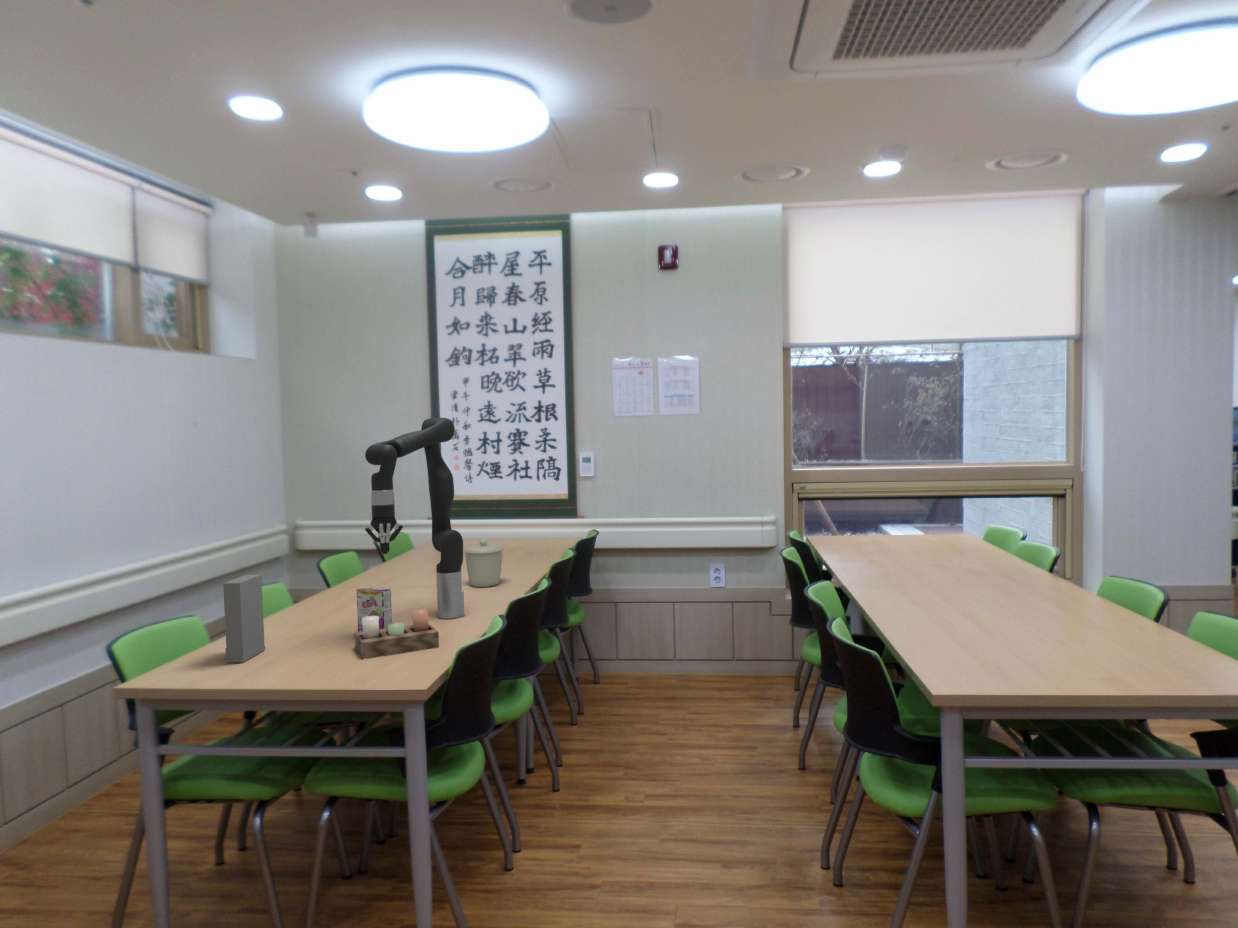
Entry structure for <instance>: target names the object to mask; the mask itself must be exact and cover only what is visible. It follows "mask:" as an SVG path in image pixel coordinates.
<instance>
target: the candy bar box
mask: <svg viewBox="0 0 1238 928" xmlns="http://www.w3.org/2000/svg"><path fill="white" fill-rule="evenodd" d="M356 607H357V609H356V610H357V632H363V626H362V618H363V617H366V616H378V617H379V629H386V628H388V625H389V624H392V623H393V616H392V615H393V612H392V611H393V610H392V608H393V607H392V589H391V588H389V587H375V586H363V587H358V588H357V589H356Z"/></svg>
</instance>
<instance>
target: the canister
mask: <svg viewBox="0 0 1238 928" xmlns="http://www.w3.org/2000/svg"><path fill="white" fill-rule="evenodd" d="M504 549H505V548H504V547H503V546H501V545H499V544H493V543H488V540H487V539H485V538H483V539H480V540H479V543H478V544H475V545H474V544H473V545H469V546H466V548H463V553H464V556H465V557H464V558H465V562H466V563H465V564H466V569H467V576H468V577H467V578H468V581H469V584H470V585H471V587H475V588H489V587H490V586H491V587H494V586H497V585H499V583H500V581H501V575H502V574H501V572H502V562H503V561H502V560H503V552H504Z"/></svg>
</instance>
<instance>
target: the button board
mask: <svg viewBox="0 0 1238 928" xmlns="http://www.w3.org/2000/svg"><path fill="white" fill-rule="evenodd" d="M428 625H429V630H427V631H420V632H413V624H408V625H404V634H399V635H392V636H388V628H386V629H379V637H378V638H371V639H364V640H363V632H358V631H357V632H354V633H353V635H354V649H355V650H356V651H358V652H357V653H358V654H359V656H360V657H361V658H362V659H364V658H365V659H371V658H377V656H378V657H383V655H384V656H388V654H390V655H395V653H397V654H402V653H401V652H403V653H407V652H406V651H410V652H415V651H414V650H416V651H421V650H422V649H423V650H427V649H434V648H439V647H440V641H439V640H440V639H439V637H440V636H439V631H438V630H437V629H436V628H435V627H433V626H432V625H431V624H430V623H428ZM370 657H371V658H370Z"/></svg>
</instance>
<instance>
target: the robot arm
mask: <svg viewBox="0 0 1238 928" xmlns="http://www.w3.org/2000/svg"><path fill="white" fill-rule="evenodd" d="M455 433H456V427H455V424H454V422H453V421H452V420H451V419H450V418H447V417H430V418H426V419H424V420H423V422H422V424H421V430H416V431H412V432H408V433H404V434H401V435H399V436H396V437H394V438H392V439H389V440H385V441H381V442H376V443H374V444H371V445H369V447H368V448H367V449H366V451H365V454H364V457H365V460H366V462H368V463H369V464H371V465H373V466H380V467H379V470H378V471H377V472H374V473H372V474H371V478H370V481H371V494H370V501H371V502H370V504H371V520H370V522H369V523H370V524H369V525H368V526H366V527H365V528H364V531H365V532H366V534H367V535H369V537H370V538H372V540H373V542H376V543H379V551H380V553H381V554H382V555H388V553H389V552H390V542H392V541H395V540H396V538H397V537H398V535H399V534H400V533H401V531H403V528H404V526H403V525H401V524H400V523H398V521H397V519H396V510H395V509H396V508H395V505H396V504H395V501H396V500H395V494H394V493H395V492H394V481H393V479H394V478H393V477H394V474H395V470H396V466H397V465H396V464H397V461H398V459H399V458H403V457H404V456H407V455H409V454H413V453H414V452H416V451H419V450H421V449H424V455H425V460H426V469H427V477H428V480H427V481H428V491H429V499H430V500H429V501H430V509H431V543H432V546H433V548H434V549H435V550H436V551H437V552H440V559H439V560H440V561H439V562H438V563H437V564H436V567H435V569H436V570H435V571H436V572H435V573H436V597H437V598H436V599H437V600H436V601H437V603H436V604H437V617H438V618H439V619H445V620H449V619H456V618H460V617H464V616H465V597H464V596H465V595H464V590H463V585H462V584H463V582H462V567H463V566H462V565H463V564H464V563H463V562H464V551H463V550H464V540H463V536H462V534H461V533H460V532H459V531H458V530H456V529H452V525H451V524H452V523H451V509H452V506H453V502H454V498H455V483H454V482H455V481H454V476H453V474H452V472H451V469H450V468H449V466H448V465H447V463H446V461H445V460H444V458H443V457H442V454H441V449H440V448H441V447H440V443H446V442H449V441H450V440H452V439H453V437H454V435H455ZM393 529H394V530H393ZM374 531H375V532H376V533H377V535H378V537H377V536H376V535H375V534H374ZM391 532H392V534H391Z"/></svg>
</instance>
